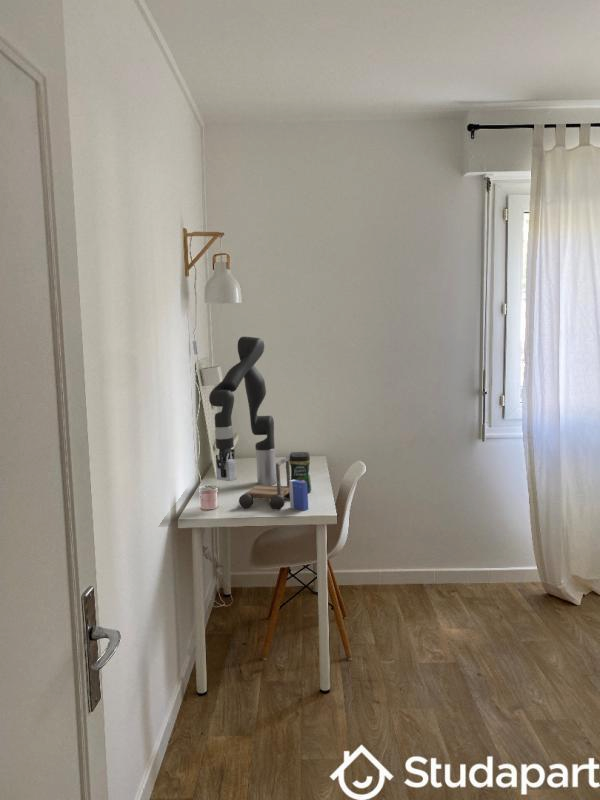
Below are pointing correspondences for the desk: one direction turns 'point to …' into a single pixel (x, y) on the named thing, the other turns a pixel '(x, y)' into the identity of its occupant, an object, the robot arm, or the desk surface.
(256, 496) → the trolley
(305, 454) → the coffee jar
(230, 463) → the medicine box
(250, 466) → the desk surface
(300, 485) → the walkman
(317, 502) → the desk surface
